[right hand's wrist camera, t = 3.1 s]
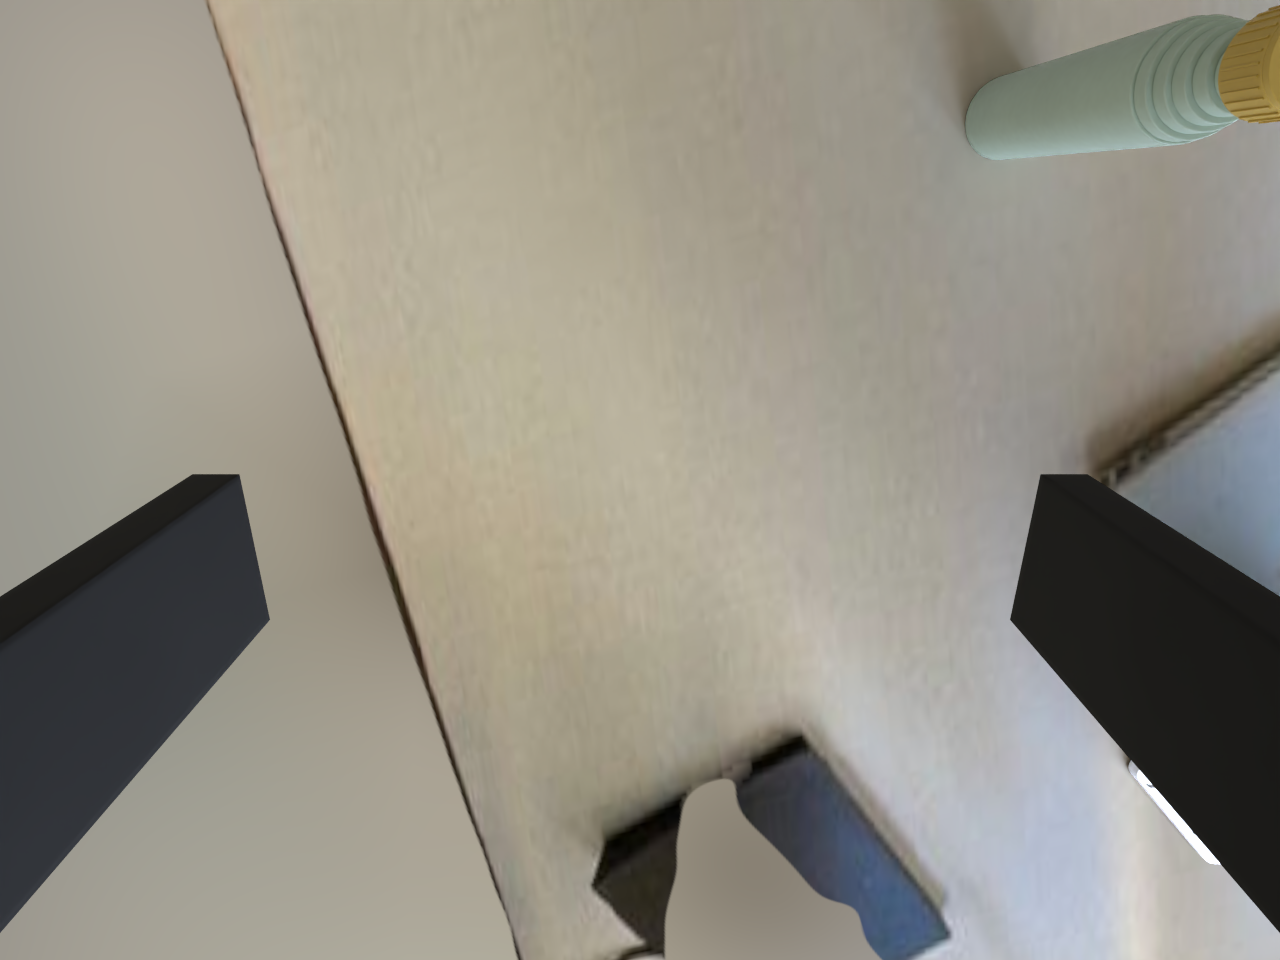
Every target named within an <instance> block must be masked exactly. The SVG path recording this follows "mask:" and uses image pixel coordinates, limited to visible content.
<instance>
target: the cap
mask: <svg viewBox="0 0 1280 960" xmlns="http://www.w3.org/2000/svg"><path fill="white" fill-rule="evenodd" d="M1218 89H1219V94H1220V97H1221V100H1222V102H1223V104H1224V105H1225V107H1226V108H1227V109H1228V111H1229V112H1230V113H1231V114H1233V115H1234V116H1236V117H1238V119H1242V120H1245V121H1248V123H1252V122H1259V123H1269V122H1278V121H1280V5H1279V6H1275V7H1272V8H1269V10H1268V11H1266V12H1263V13H1260V14H1258V15H1257V16H1256V17H1255V18H1253V19H1252V20H1250V21H1249V22H1247V23H1246V25H1244V26H1243V27H1242V28H1241V30H1240V31H1239V32H1238V33H1237V34H1236V35H1235V36H1234V38H1233V39H1232V41H1231V42H1230V44H1229V45H1228V47H1227V49H1226V51H1225V53H1224V55H1223V58H1222V60H1221V64H1220V68H1219V74H1218Z"/></svg>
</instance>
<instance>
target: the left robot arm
mask: <svg viewBox="0 0 1280 960" xmlns="http://www.w3.org/2000/svg"><path fill="white" fill-rule="evenodd" d="M1128 769H1129V771H1130V773H1131V774H1132V775H1133V777H1134V778H1135V779H1136V780H1137V781H1138V783H1139V784H1140V785H1141V786H1142V787H1143V789H1144V790H1145V791H1146V792H1147V793H1148V795H1149V796H1150V797H1151V798H1152V799H1153V800H1154V802H1155V803H1156V804H1157V805H1158V806H1159V808H1160V809H1161V810H1162V811H1163V812H1164V814H1165V815H1166V816H1167V817H1168V818H1169V819H1170V821H1171V822H1172V823H1173V824H1174V825H1175V827H1176V828H1177V829H1178V830H1179V831H1180V833H1181V834H1182V835H1183V836H1184V837H1185V838H1186V840H1187V841H1188V842H1189V843H1190V844H1191V846H1192V847H1193V848H1194V849H1195V850H1196V851H1197V853H1198V854H1199V855H1200V856H1201V857H1203V858H1204V859H1205V860H1206V861H1207V862H1208V863H1211V864H1220V863H1219V862H1218V860H1217V859H1216V858H1215V857H1214V856H1213V855H1212V853H1211V852H1210V851H1209V850H1208V849H1207V848H1206V846H1205V845H1204V844H1203V843H1202V842H1201V841H1200V839H1199V838H1198V837H1197V836H1196V835H1195V834H1194V833H1193V831H1192V830H1191V829H1190V828H1189V827H1188V826H1187V824H1186V823H1185V822H1184V821H1183V820H1182V819H1181V817H1180V816H1179V815H1178V814H1177V813H1176V812H1175V810H1174V809H1173V808H1172V807H1171V806H1170V805H1169V803H1168V802H1167V801H1166V800H1165V799H1164V798H1163V797H1162V795H1161V794H1160V793H1159V792H1158V791H1157V790H1156V788H1155V787H1154V786H1153V785H1152V784H1151V783H1150V781H1149V780H1148V779H1147V778H1146V777H1145V776H1144V774H1143V773H1142V772H1141V771H1140V770H1139V769H1138V768H1137V766H1136V765H1135V764H1134V763H1133V762H1132V761H1130V763H1129V766H1128Z"/></svg>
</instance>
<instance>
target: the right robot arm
mask: <svg viewBox="0 0 1280 960" xmlns="http://www.w3.org/2000/svg"><path fill="white" fill-rule="evenodd" d="M269 620H270V618H269V614H268V609H267V604H266V599H265V595H264V590H263V585H262V580H261V575H260V571H259V566H258V561H257V556H256V552H255V547H254V542H253V537H252V533H251V528H250V523H249V518H248V513H247V509H246V504H245V499H244V494H243V490H242V485H241V480H240V476H239V474H193V475H191V476H189V477H188V478H186V479H185V480H183V481H181V482H180V483H178V484H177V485H175V486H174V487H172V488H170V489H169V490H167V491H166V492H164V493H163V494H161V495H159V496H158V497H156V498H155V499H153V500H152V501H150V502H148V503H147V504H145V505H144V506H142V507H141V508H139V509H137V510H136V511H134V512H133V513H131V514H130V515H128V516H126V517H125V518H123V519H122V520H120V521H119V522H117V523H115V524H114V525H112V526H111V527H109V528H108V529H106V530H104V531H103V532H101V533H100V534H98V535H96V536H95V537H93V538H92V539H90V540H89V541H87V542H86V543H84V544H82V545H81V546H79V547H78V548H76V549H75V550H73V551H71V552H70V553H68V554H67V555H65V556H63V557H62V558H60V559H59V560H57V561H56V562H54V563H52V564H51V565H49V566H48V567H46V568H45V569H43V570H41V571H40V572H38V573H37V574H35V575H34V576H32V577H30V578H29V579H27V580H26V581H24V582H23V583H21V584H20V585H18V586H16V587H15V588H13V589H12V590H10V591H8V592H7V593H5V594H4V595H2V596H1V597H0V932H1V931H2V930H3V929H4V928H5V927H6V925H7V924H8V923H9V922H10V921H11V920H12V918H13V917H14V916H15V915H16V914H17V913H18V911H19V910H20V909H21V908H22V907H23V906H24V904H25V903H26V902H27V901H28V900H29V899H30V897H31V896H32V895H33V894H34V893H35V892H36V891H37V889H38V888H39V887H40V886H41V885H42V884H43V882H44V881H45V880H46V879H47V878H48V877H49V875H50V874H51V873H52V872H53V871H54V870H55V869H56V867H57V866H58V865H59V864H60V863H61V862H62V860H63V859H64V858H65V857H66V856H67V854H68V853H69V852H70V851H71V850H72V849H73V848H74V846H75V845H76V844H77V843H78V842H79V841H80V839H81V838H82V837H83V836H84V835H85V834H86V833H87V831H88V830H89V829H90V828H91V827H92V826H93V824H94V823H95V822H96V821H97V820H98V819H99V817H100V816H101V815H102V814H103V813H104V812H105V810H106V809H107V808H108V807H109V806H110V805H111V803H112V802H113V801H114V800H115V799H116V798H117V797H118V795H119V794H120V793H121V792H122V791H123V789H124V788H125V787H126V786H127V785H128V784H129V783H130V781H131V780H132V779H133V778H134V777H135V776H136V774H137V773H138V772H139V771H140V770H141V769H142V768H143V766H144V765H145V764H146V763H147V762H148V761H149V759H150V758H151V757H152V756H153V755H154V754H155V752H156V751H157V750H158V749H159V748H160V747H161V745H162V744H163V743H164V742H165V741H166V740H167V738H168V737H169V736H170V735H171V734H172V733H173V731H174V730H175V729H176V728H177V727H178V726H179V724H180V723H181V722H182V721H183V720H184V719H185V718H186V716H187V715H188V714H189V713H190V712H191V711H192V709H193V708H194V707H195V706H196V705H197V704H198V703H199V701H200V700H201V699H202V698H203V697H204V695H205V694H206V693H207V692H208V691H209V690H210V688H211V687H212V686H213V685H214V684H215V683H216V682H217V680H218V679H219V678H220V677H221V676H222V675H223V673H224V672H225V671H226V670H227V669H228V668H229V667H230V665H231V664H232V663H233V662H234V661H235V660H236V658H237V657H238V656H239V655H240V654H241V653H242V651H243V650H244V649H245V648H246V647H247V646H248V644H249V643H250V642H251V641H252V640H253V639H254V637H255V636H256V635H257V634H258V633H259V632H260V630H261V629H262V628H263V627H264V626H265V625H266V624H267V622H268V621H269ZM1010 620H1011V621H1012V622H1013V624H1014V625H1015V626H1016V627H1017V628H1018V629H1019V631H1020V632H1021V633H1022V634H1023V635H1024V636H1025V637H1026V639H1027V640H1028V641H1029V642H1030V643H1031V644H1032V646H1033V647H1034V648H1035V649H1036V650H1037V651H1038V653H1039V654H1040V655H1041V656H1042V657H1043V658H1044V660H1045V661H1046V662H1047V663H1048V664H1049V665H1050V667H1051V668H1052V669H1053V670H1054V671H1055V672H1056V673H1057V675H1058V676H1059V677H1060V678H1061V679H1062V680H1063V682H1064V683H1065V684H1066V685H1067V686H1068V687H1069V689H1070V690H1071V691H1072V692H1073V693H1074V694H1075V696H1076V697H1077V698H1078V699H1079V700H1080V701H1081V703H1082V704H1083V705H1084V706H1085V707H1086V708H1087V709H1088V711H1089V712H1090V713H1091V714H1092V715H1093V716H1094V718H1095V719H1096V720H1097V721H1098V722H1099V723H1100V725H1101V726H1102V727H1103V728H1104V729H1105V730H1106V732H1107V733H1108V734H1109V735H1110V736H1111V737H1112V738H1113V740H1114V741H1115V742H1116V743H1117V744H1118V745H1119V747H1120V748H1121V749H1122V750H1123V751H1124V752H1125V754H1126V755H1127V756H1128V757H1129V758H1130V759H1131V761H1132V762H1133V763H1134V764H1135V765H1136V766H1137V768H1138V769H1139V770H1140V771H1141V772H1142V773H1143V774H1144V776H1145V777H1146V778H1147V779H1148V780H1149V781H1150V783H1151V784H1152V785H1153V786H1154V787H1155V788H1156V790H1157V791H1158V792H1159V793H1160V794H1161V795H1162V797H1163V798H1164V799H1165V800H1166V801H1167V802H1168V803H1169V805H1170V806H1171V807H1172V808H1173V809H1174V810H1175V812H1176V813H1177V814H1178V815H1179V816H1180V817H1181V819H1182V820H1183V821H1184V822H1185V823H1186V824H1187V826H1188V827H1189V828H1190V829H1191V830H1192V831H1193V833H1194V834H1195V835H1196V836H1197V837H1198V838H1199V839H1200V841H1201V842H1202V843H1203V844H1204V845H1205V846H1206V848H1207V849H1208V850H1209V851H1210V852H1211V853H1212V855H1213V856H1214V857H1215V858H1216V859H1217V860H1218V862H1219V863H1220V864H1221V865H1222V866H1223V867H1224V869H1225V870H1226V871H1227V872H1228V873H1229V874H1230V875H1231V877H1232V878H1233V879H1234V880H1235V881H1236V882H1237V884H1238V885H1239V886H1240V887H1241V888H1242V889H1243V891H1244V892H1245V893H1246V894H1247V895H1248V896H1249V898H1250V899H1251V900H1252V901H1253V902H1254V903H1255V904H1256V906H1257V907H1258V908H1259V909H1260V910H1261V911H1262V913H1263V914H1264V915H1265V916H1266V917H1267V918H1268V920H1269V921H1270V922H1271V923H1272V924H1273V925H1274V927H1275V928H1276V929H1277V930H1278V931H1279V932H1280V597H1279V596H1278V595H1276V594H1275V593H1273V592H1272V591H1270V590H1268V589H1267V588H1265V587H1264V586H1262V585H1261V584H1259V583H1257V582H1256V581H1254V580H1253V579H1251V578H1250V577H1248V576H1246V575H1245V574H1243V573H1242V572H1240V571H1239V570H1237V569H1235V568H1234V567H1232V566H1231V565H1229V564H1228V563H1226V562H1224V561H1223V560H1221V559H1220V558H1218V557H1217V556H1215V555H1213V554H1212V553H1210V552H1209V551H1207V550H1206V549H1204V548H1202V547H1201V546H1199V545H1198V544H1196V543H1195V542H1193V541H1191V540H1190V539H1188V538H1187V537H1185V536H1184V535H1182V534H1180V533H1179V532H1177V531H1176V530H1174V529H1173V528H1171V527H1169V526H1168V525H1166V524H1165V523H1163V522H1161V521H1160V520H1158V519H1157V518H1155V517H1154V516H1152V515H1150V514H1149V513H1147V512H1146V511H1144V510H1143V509H1141V508H1139V507H1138V506H1136V505H1135V504H1133V503H1132V502H1130V501H1128V500H1127V499H1125V498H1124V497H1122V496H1121V495H1119V494H1117V493H1116V492H1114V491H1113V490H1111V489H1110V488H1108V487H1106V486H1105V485H1103V484H1102V483H1100V482H1099V481H1097V480H1095V479H1094V478H1092V477H1091V476H1089V475H1088V474H1041V475H1040V480H1039V485H1038V490H1037V494H1036V499H1035V504H1034V509H1033V513H1032V518H1031V523H1030V528H1029V533H1028V537H1027V542H1026V547H1025V552H1024V556H1023V561H1022V566H1021V571H1020V575H1019V580H1018V585H1017V590H1016V595H1015V599H1014V604H1013V609H1012V614H1011V618H1010Z"/></svg>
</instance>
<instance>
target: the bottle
mask: <svg viewBox="0 0 1280 960" xmlns="http://www.w3.org/2000/svg"><path fill="white" fill-rule="evenodd" d="M1247 22H1249V21H1246V20H1243V19H1239V18H1233V17H1231V16H1226V15H1200V16H1193V17H1189V18H1185V19H1182V20H1179V21H1176V22H1172V23H1169V24H1166V25H1163V26H1160V27H1157V28H1153V29H1150V30H1147V31H1144V32H1141V33H1137V34H1134V35H1131V36H1128V37H1125V38H1122V39H1118V40H1115V41H1112V42H1109V43H1106V44H1103V45H1099V46H1096V47H1093V48H1090V49H1087V50H1083V51H1080V52H1077V53H1074V54H1071V55H1068V56H1064V57H1061V58H1058V59H1055V60H1052V61H1048V62H1045V63H1042V64H1039V65H1036V66H1033V67H1029V68H1026V69H1023V70H1020V71H1017V72H1013V73H1010V74H1007V75H1004V76H1001V77H998V78H995V79H993V80H992V81H990V82H988V83H987V84H985V85H984V86H983V87H982V88H981V89H980V90H979V91H978V92H977V94H976V95H975V96H974V98H973V100H972V101H971V103H970V106H969V108H968V111H967V115H966V122H965V128H966V135H967V138H968V141H969V143H970V145H971V146H972V148H973V149H974V150H975V151H976V152H977V153H978V154H980V155H981V156H983V157H985V158H988V159H992V160H1004V159H1016V158H1028V157H1040V156H1052V155H1064V154H1076V153H1088V152H1100V151H1112V150H1124V149H1136V148H1148V147H1160V146H1172V145H1182V144H1186V143H1190V142H1193V141H1196V140H1198V139H1203V138H1205V137H1208V136H1211V135H1213V134H1215V133H1217V132H1218V131H1220V130H1221V129H1223V128H1225V127H1227V126H1229V125H1230V124H1232V123H1233V122H1235V121H1237V120H1239V119H1238V117H1236V116H1234V115H1233V114H1231V113H1230V112H1229V111H1228V109H1227V108H1226V107H1225V105H1224V104H1223V102H1222V100H1221V97H1220V94H1219V89H1218V74H1219V68H1220V64H1221V60H1222V58H1223V55H1224V53H1225V51H1226V49H1227V47H1228V45H1229V44H1230V42H1231V41H1232V39H1233V38H1234V36H1235V35H1236V34H1237V33H1238V32H1239V31H1240V30H1241V28H1242V27H1243V26H1244V25H1246V23H1247Z"/></svg>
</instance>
